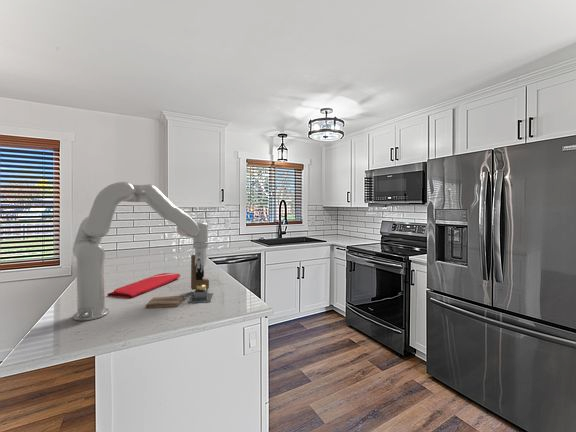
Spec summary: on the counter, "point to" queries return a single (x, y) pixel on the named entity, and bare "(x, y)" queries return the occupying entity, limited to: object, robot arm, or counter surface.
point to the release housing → (201, 296)
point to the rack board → (164, 301)
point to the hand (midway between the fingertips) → (200, 278)
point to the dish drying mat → (143, 285)
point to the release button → (201, 287)
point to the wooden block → (193, 276)
